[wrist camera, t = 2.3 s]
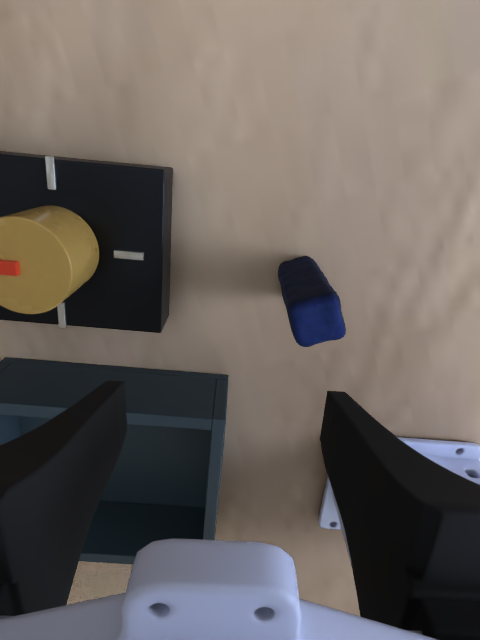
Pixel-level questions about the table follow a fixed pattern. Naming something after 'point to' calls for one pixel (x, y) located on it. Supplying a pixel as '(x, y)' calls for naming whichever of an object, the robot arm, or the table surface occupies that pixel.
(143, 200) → the block
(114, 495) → the dark teal open box
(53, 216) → the tap knob
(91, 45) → the table surface
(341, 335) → the eraser
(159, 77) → the table surface
